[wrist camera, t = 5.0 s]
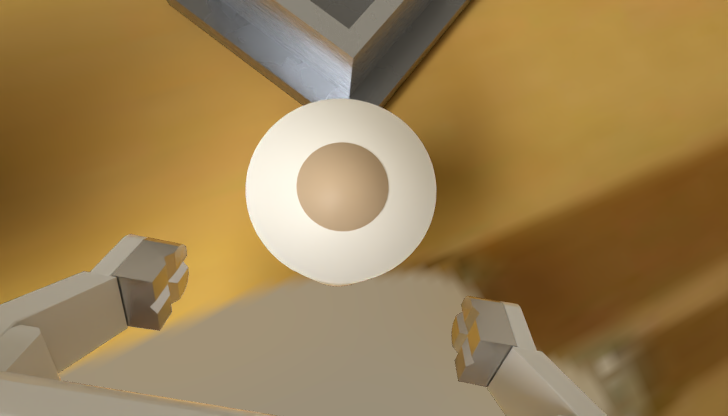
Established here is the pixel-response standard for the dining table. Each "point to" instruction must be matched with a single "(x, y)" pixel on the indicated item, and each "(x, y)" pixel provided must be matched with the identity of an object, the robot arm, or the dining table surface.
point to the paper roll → (341, 191)
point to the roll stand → (327, 41)
